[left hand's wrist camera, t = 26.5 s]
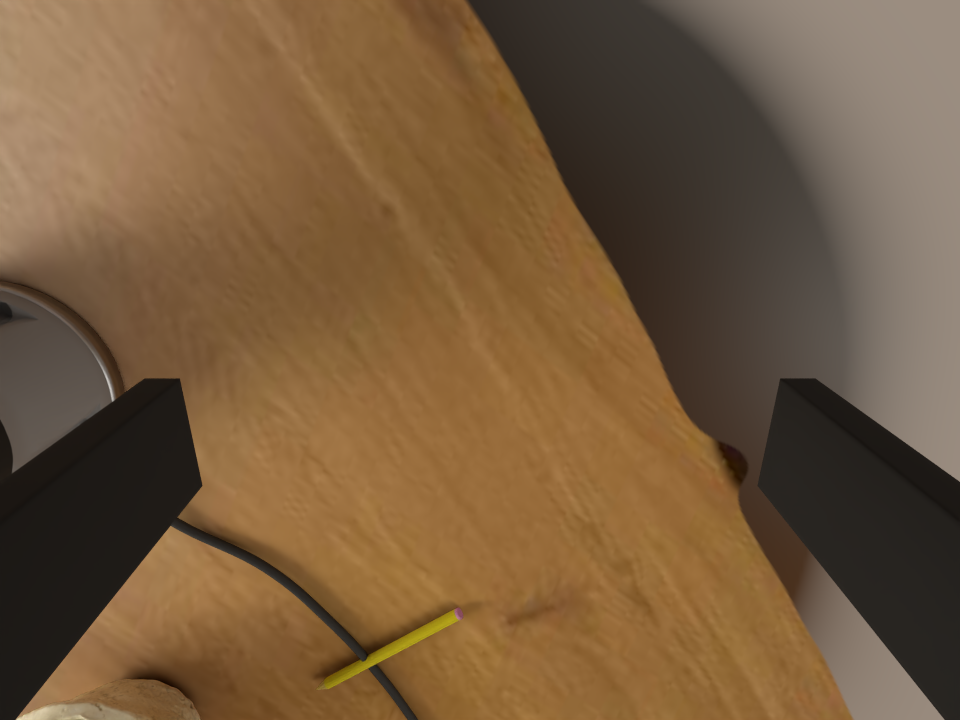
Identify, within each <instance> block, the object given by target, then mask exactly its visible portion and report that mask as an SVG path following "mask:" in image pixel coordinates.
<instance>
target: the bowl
mask: <svg viewBox="0 0 960 720" xmlns="http://www.w3.org/2000/svg"><path fill="white" fill-rule="evenodd" d="M16 720H201V719H200V715H199V714H198V712H197V710H196V708H195V707H194V704H193V703H192V701H190V699H187V698H186V697H185V696H184V695H183V693H181V692H180V691H179V690H178V689H177V688H174V687H171V686H169V685H167V684H164V683H162V682H160V681H157V680H144V679H139V680H130V679H123V680H119V681H115V682H111V683H108V684H105V685H103V686H101V687H99V688H97V689H95V690H92V691H90V692H86V693H84V694H81V695H79V696H77V697H75V698H74V699H72V700H70V701H63V702H56V703H51V704H49V705H45V706H43V707H40V708H38V709H35V710H34V711H32V712H29V713H27V714H25V715H23V716H21V717H19V718H18V719H16Z"/></svg>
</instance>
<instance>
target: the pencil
mask: <svg viewBox="0 0 960 720" xmlns="http://www.w3.org/2000/svg"><path fill="white" fill-rule="evenodd" d="M462 618H463V613H462V611H461V609H460V608H456V609H454V610H452V611H450V612H448V613H446V614H444V615H442V616H441V617H439V618H437V619H435V620H433V621H431V622H429V623H427V624H426V625H424V626H422V627H420V628H418V629H416V630H414V631H412V632H411V633H409V634H407V635H405V636H403V637H401V638H399V639H397V640H396V641H394V642H392V643H390V644H388V645H386V646H384V647H382V648H381V649H379V650H377V651H375V652H373V653H371V654H369V655H368V657H367V659H366V660H365V661H364V662H362V661H361V659H360V660H358V661H356V662H354V663H353V664H351V665H349V666H347V667H345V668H343V669H341V670H339V671H338V672H336V673H334V674H332V675H330V676H328V677H326V678H325V679H324V681H323V682H322V683H321V684H320V685H319V686H318V687H317V688H316V690H319V689H329V688H331V687H333V686H335V685H337V684H339V683H341V682H343V681H345V680H347V679H349V678H350V677H352V676H354V675H356V674H358V673H360V672H362V671H364V670H366V669H368V668H369V667H371V666H373V665H375V664H377V663H379V662H381V661H383V660H385V659H386V658H388V657H390V656H392V655H394V654H396V653H398V652H400V651H402V650H404V649H405V648H407V647H409V646H411V645H413V644H415V643H417V642H419V641H421V640H423V639H424V638H426V637H428V636H430V635H432V634H434V633H436V632H438V631H440V630H442V629H443V628H445V627H447V626H449V625H451V624H453V623H455V622H457V621H459V620H461V619H462Z"/></svg>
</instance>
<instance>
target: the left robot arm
mask: <svg viewBox="0 0 960 720" xmlns="http://www.w3.org/2000/svg"><path fill="white" fill-rule="evenodd" d="M201 487H202V481H201V477H200V472H199V467H198V462H197V458H196V453H195V448H194V444H193V439H192V434H191V429H190V425H189V420H188V415H187V411H186V406H185V401H184V396H183V392H182V387H181V382H180V379H143V380H142V381H141V382H139V383H138V384H136V385H135V386H134V387H132V388H131V389H129V390H128V391H127V392H125V393H124V387H123V382H122V378H121V375H120V372H119V370H118V367H117V365H116V362H115V361H114V359H113V357H112V355H111V353H110V351H109V350H108V348H107V347H106V345H105V344H104V342H103V341H102V340H101V338H100V337H99V336H98V335H97V334H96V332H95V331H94V330H93V329H92V328H91V327H90V326H89V325H88V324H87V323H86V322H85V321H84V320H83V319H82V318H80V317H79V316H78V315H77V314H76V313H74V312H73V311H72V310H70V309H69V308H68V307H66V306H65V305H63V304H62V303H60V302H58V301H57V300H55V299H53V298H51V297H49V296H47V295H45V294H43V293H41V292H39V291H36V290H34V289H31V288H28V287H25V286H22V285H18V284H14V283H10V282H3V281H0V720H15V719H16V718H17V717H18V716H19V714H20V713H21V712H22V711H23V709H24V708H25V707H26V706H27V704H28V703H29V702H30V701H31V699H32V698H33V697H34V696H35V694H36V693H37V692H38V691H39V689H40V688H41V687H42V686H43V684H44V683H45V682H46V681H47V679H48V678H49V677H50V676H51V674H52V673H53V672H54V671H55V669H56V668H57V667H58V666H59V664H60V663H61V662H62V661H63V659H64V658H65V657H66V656H67V654H68V653H69V652H70V651H71V649H72V648H73V647H74V646H75V644H76V643H77V642H78V641H79V639H80V638H81V637H82V636H83V634H84V633H85V632H86V631H87V629H88V628H89V627H90V626H91V624H92V623H93V622H94V621H95V619H96V618H97V617H98V616H99V614H100V613H101V612H102V611H103V609H104V608H105V607H106V606H107V604H108V603H109V602H110V601H111V599H112V598H113V597H114V596H115V594H116V593H117V592H118V591H119V589H120V588H121V587H122V586H123V584H124V583H125V582H126V581H127V579H128V578H129V577H130V576H131V574H132V573H133V572H134V571H135V569H136V568H137V567H138V566H139V564H140V563H141V562H142V561H143V559H144V558H145V557H146V556H147V554H148V553H149V552H150V551H151V549H152V548H153V547H154V546H155V544H156V543H157V542H158V541H159V539H160V538H161V537H162V536H163V534H164V533H165V532H166V531H167V529H168V528H169V527H170V526H172V527H174V528H176V529H178V530H179V531H181V532H183V533H185V534H187V535H189V536H191V537H193V538H195V539H197V540H199V541H202V542H204V543H206V544H208V545H211V546H213V547H215V548H218V549H220V550H222V551H224V552H227V553H229V554H231V555H233V556H235V557H237V558H239V559H242V560H243V561H245V562H247V563H249V564H251V565H253V566H254V567H256V568H258V569H259V570H261V571H263V572H264V573H266V574H267V575H269V576H270V577H272V578H273V579H275V580H276V581H277V582H279V583H280V584H282V585H283V586H284V587H285V588H287V589H288V590H289V591H291V592H292V593H293V594H294V595H295V596H297V597H298V598H299V599H300V600H301V601H302V602H303V603H304V604H305V605H307V606H308V607H309V608H310V609H311V610H312V611H313V612H314V613H315V614H316V615H317V616H318V617H319V618H320V619H321V620H322V621H323V622H325V623H326V624H327V625H328V626H329V627H330V628H331V629H332V630H333V631H334V632H335V633H336V634H337V635H338V636H339V637H340V638H341V639H342V640H343V641H344V642H345V643H346V644H347V645H348V646H349V647H350V648H351V649H352V651H353V652H354V653H355V654H356V655H357V656H358V657H359V658H360V659H361V661H362V662H364V661H365V660H366V659H367V657H368V654H367V653H366V652H365V651H364V649H363V648H362V647H361V646H360V645H359V644H358V643H357V642H356V641H355V639H354V638H353V637H352V636H351V635H350V634H349V633H348V632H347V631H346V630H345V629H344V628H343V627H342V626H341V625H340V624H339V623H338V622H337V621H336V620H335V619H334V618H333V617H332V616H331V615H330V614H329V613H328V612H326V611H325V610H324V609H323V608H322V607H321V606H320V605H319V604H318V603H317V602H316V601H315V600H314V599H313V598H312V597H311V596H310V595H309V594H307V593H306V592H305V591H304V590H303V589H302V588H301V587H300V586H298V585H297V584H296V583H295V582H293V581H292V580H291V579H290V578H288V577H287V576H286V575H284V574H283V573H282V572H280V571H279V570H277V569H276V568H274V567H273V566H271V565H270V564H268V563H267V562H265V561H264V560H262V559H260V558H258V557H257V556H255V555H253V554H251V553H249V552H247V551H245V550H243V549H241V548H239V547H237V546H235V545H233V544H231V543H228V542H226V541H224V540H221V539H219V538H217V537H215V536H212V535H210V534H208V533H206V532H204V531H202V530H199V529H197V528H195V527H193V526H191V525H189V524H188V523H186V522H184V521H182V520H180V519H179V518H177V517H178V516H179V514H180V513H181V512H182V511H183V509H184V508H185V507H186V506H187V504H188V503H189V502H190V501H191V499H192V498H193V497H194V496H195V494H196V493H197V492H198V491H199V489H200V488H201ZM758 487H759V488H760V489H761V490H762V492H763V493H764V494H765V496H766V497H767V498H768V499H769V501H770V502H771V503H772V504H773V506H774V507H775V508H776V509H777V511H778V512H779V513H780V514H781V516H782V517H783V518H784V519H785V521H786V522H787V523H788V524H789V526H790V527H791V528H792V529H793V531H794V532H795V533H796V534H797V536H798V537H799V538H800V539H801V541H802V542H803V543H804V544H805V546H806V547H807V548H808V549H809V551H810V552H811V553H812V554H813V556H814V557H815V558H816V559H817V561H818V562H819V563H820V564H821V566H822V567H823V568H824V569H825V571H826V572H827V573H828V574H829V576H830V577H831V578H832V579H833V581H834V582H835V583H836V584H837V586H838V587H839V588H840V589H841V591H842V592H843V593H844V594H845V596H846V597H847V598H848V599H849V601H850V602H851V603H852V604H853V606H854V607H855V608H856V609H857V611H858V612H859V613H860V614H861V616H862V617H863V618H864V619H865V621H866V622H867V623H868V624H869V626H870V627H871V628H872V629H873V631H874V632H875V633H876V634H877V636H878V637H879V638H880V639H881V641H882V642H883V643H884V644H885V646H886V647H887V648H888V649H889V651H890V652H891V653H892V654H893V656H894V657H895V658H896V659H897V661H898V662H899V663H900V664H901V666H902V667H903V668H904V669H905V671H906V672H907V673H908V674H909V676H910V677H911V678H912V679H913V681H914V682H915V683H916V684H917V686H918V687H919V688H920V689H921V691H922V692H923V693H924V694H925V696H926V697H927V698H928V699H929V701H930V702H931V703H932V704H933V706H934V707H935V708H936V709H937V711H938V712H939V713H940V714H941V716H942V717H943V718H944V719H945V720H960V482H959V481H958V480H956V479H955V478H954V477H952V476H951V475H949V474H948V473H947V472H945V471H944V470H942V469H941V468H940V467H938V466H937V465H935V464H934V463H933V462H931V461H930V460H928V459H927V458H926V457H924V456H923V455H921V454H920V453H919V452H917V451H916V450H914V449H913V448H912V447H910V446H909V445H908V444H906V443H905V442H903V441H902V440H901V439H899V438H898V437H896V436H895V435H894V434H892V433H891V432H889V431H888V430H887V429H885V428H884V427H882V426H881V425H880V424H878V423H877V422H875V421H874V420H873V419H871V418H870V417H868V416H867V415H866V414H864V413H863V412H861V411H860V410H859V409H857V408H856V407H854V406H853V405H852V404H850V403H849V402H847V401H846V400H845V399H843V398H842V397H840V396H839V395H838V394H836V393H835V392H833V391H832V390H831V389H829V388H828V387H826V386H825V385H824V384H822V383H821V382H819V381H818V380H817V379H780V382H779V387H778V392H777V397H776V402H775V406H774V411H773V415H772V420H771V425H770V429H769V434H768V439H767V444H766V448H765V453H764V458H763V462H762V467H761V472H760V477H759V481H758ZM368 669H369V670H370V671H371V672H372V674H373V675H374V676H375V677H376V678H377V680H378V681H379V682H380V683H381V684H382V686H383V687H384V688H385V689H386V691H387V692H388V693H389V695H390V696H391V697H392V699H393V700H394V701H395V703H396V704H397V705H398V707H399V708H400V710H401V711H402V712H403V714H404V715H405V717H406V718H407V719H408V720H418V719H417V718H416V716H415V715H414V713H413V712H412V711H411V709H410V708H409V706H408V705H407V703H406V702H405V701H404V699H403V698H402V696H401V695H400V694H399V692H398V691H397V690H396V688H395V687H394V686H393V684H392V683H391V682H390V681H389V679H388V678H387V677H386V676H385V674H384V673H383V672H382V671H381V670H380V668H379V667H378V666H377V665H376V664H375V665H373V666H371V667H369V668H368Z"/></svg>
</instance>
